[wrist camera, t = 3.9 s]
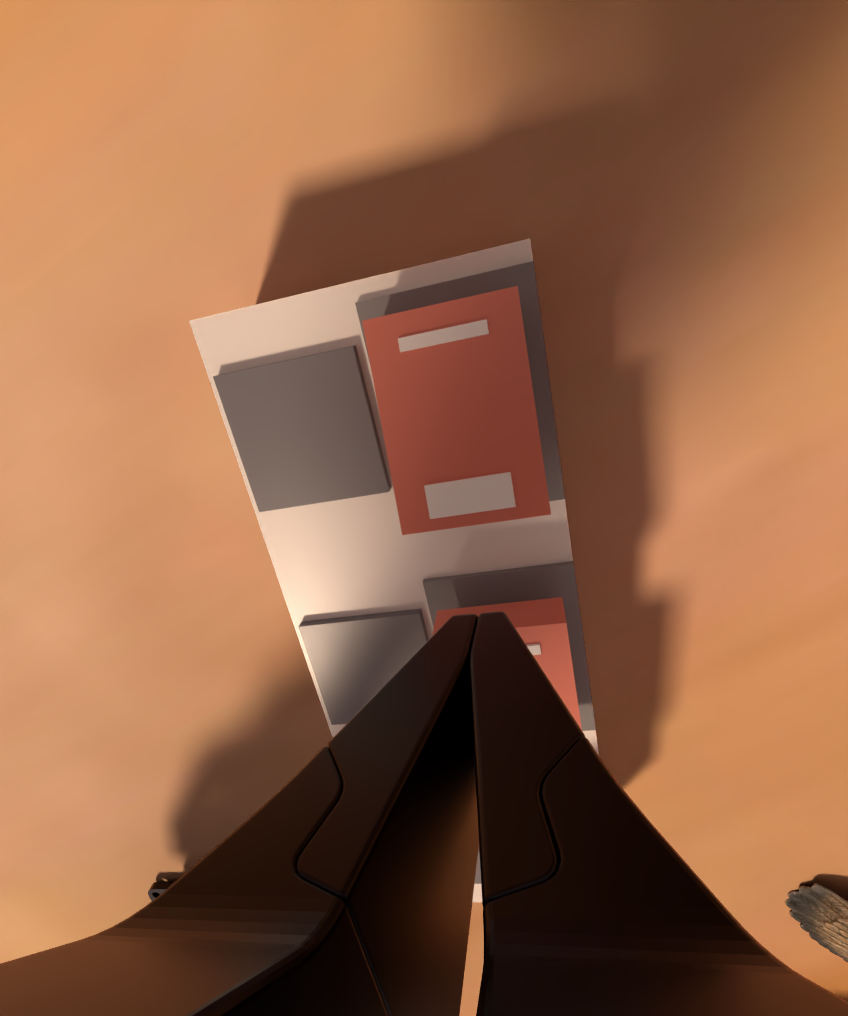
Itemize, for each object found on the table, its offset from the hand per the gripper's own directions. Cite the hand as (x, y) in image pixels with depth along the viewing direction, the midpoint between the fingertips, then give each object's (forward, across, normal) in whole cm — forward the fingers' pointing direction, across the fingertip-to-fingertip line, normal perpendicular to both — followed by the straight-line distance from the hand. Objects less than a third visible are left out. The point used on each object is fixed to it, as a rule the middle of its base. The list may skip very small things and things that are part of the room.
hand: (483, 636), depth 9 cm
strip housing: (+11, +3, +9) cm, 14 cm away
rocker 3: (+6, 0, -2) cm, 6 cm away
